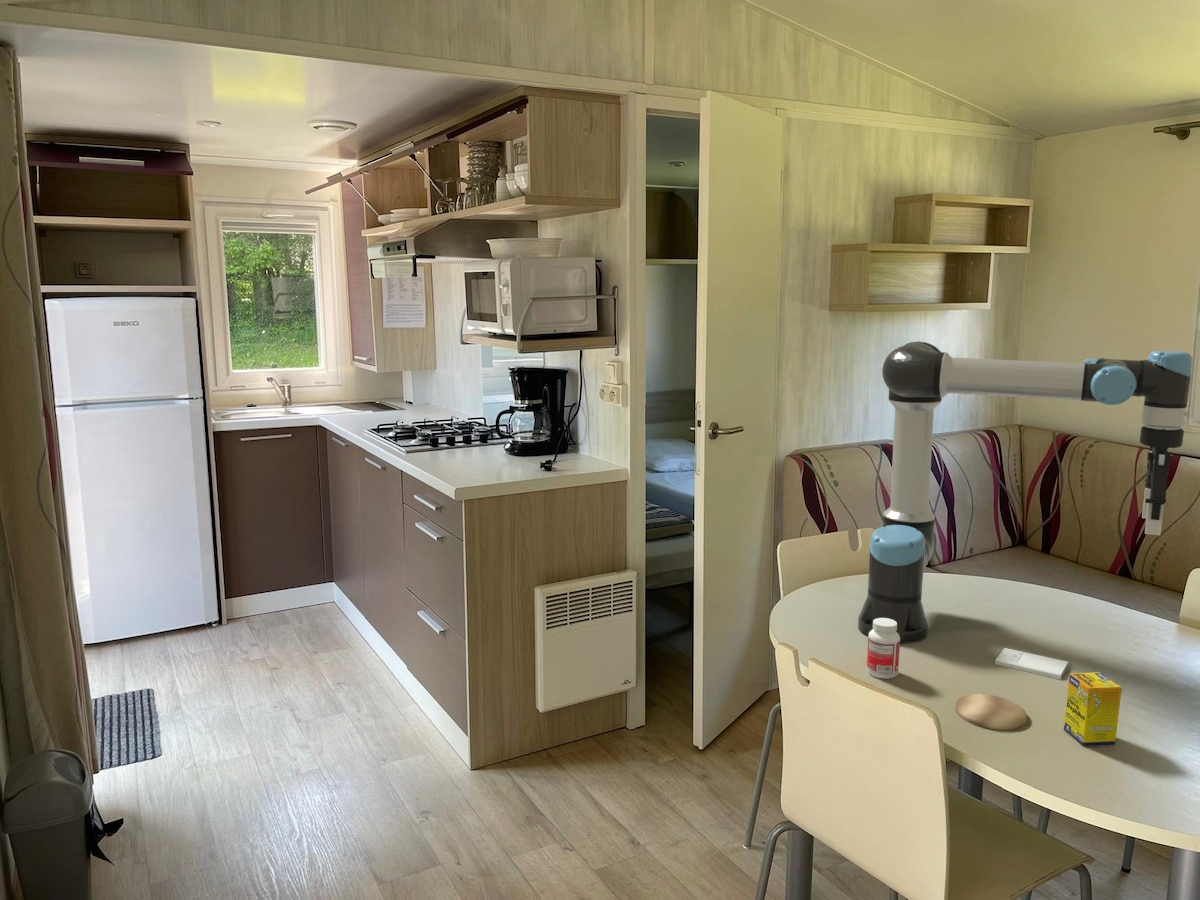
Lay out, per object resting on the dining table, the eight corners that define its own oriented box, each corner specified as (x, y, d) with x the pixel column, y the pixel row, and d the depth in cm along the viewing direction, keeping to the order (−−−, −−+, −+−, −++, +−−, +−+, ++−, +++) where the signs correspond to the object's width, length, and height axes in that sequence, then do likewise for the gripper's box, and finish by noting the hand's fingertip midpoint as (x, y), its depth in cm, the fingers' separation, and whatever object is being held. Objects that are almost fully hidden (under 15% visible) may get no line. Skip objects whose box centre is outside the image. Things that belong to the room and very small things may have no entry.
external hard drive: (1060, 682, 179) (994, 666, 186) (1068, 668, 186) (1004, 653, 193) (1061, 674, 179) (995, 659, 186) (1068, 661, 185) (1005, 646, 193)
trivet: (952, 720, 163) (952, 715, 162) (959, 694, 173) (959, 689, 173) (1024, 735, 157) (1025, 730, 157) (1027, 707, 168) (1027, 702, 167)
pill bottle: (882, 664, 186) (885, 614, 184) (904, 675, 181) (907, 624, 179) (860, 670, 184) (862, 619, 182) (881, 682, 178) (884, 629, 176)
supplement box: (1062, 730, 159) (1068, 672, 157) (1094, 728, 160) (1100, 671, 158) (1082, 747, 153) (1089, 688, 151) (1116, 745, 154) (1122, 686, 152)
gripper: (1189, 437, 171) (1176, 544, 175) (1179, 419, 193) (1167, 514, 197) (1144, 434, 175) (1132, 538, 179) (1138, 416, 196) (1128, 510, 200)
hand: (1150, 526), depth 188 cm, fingers open, 13 cm apart
